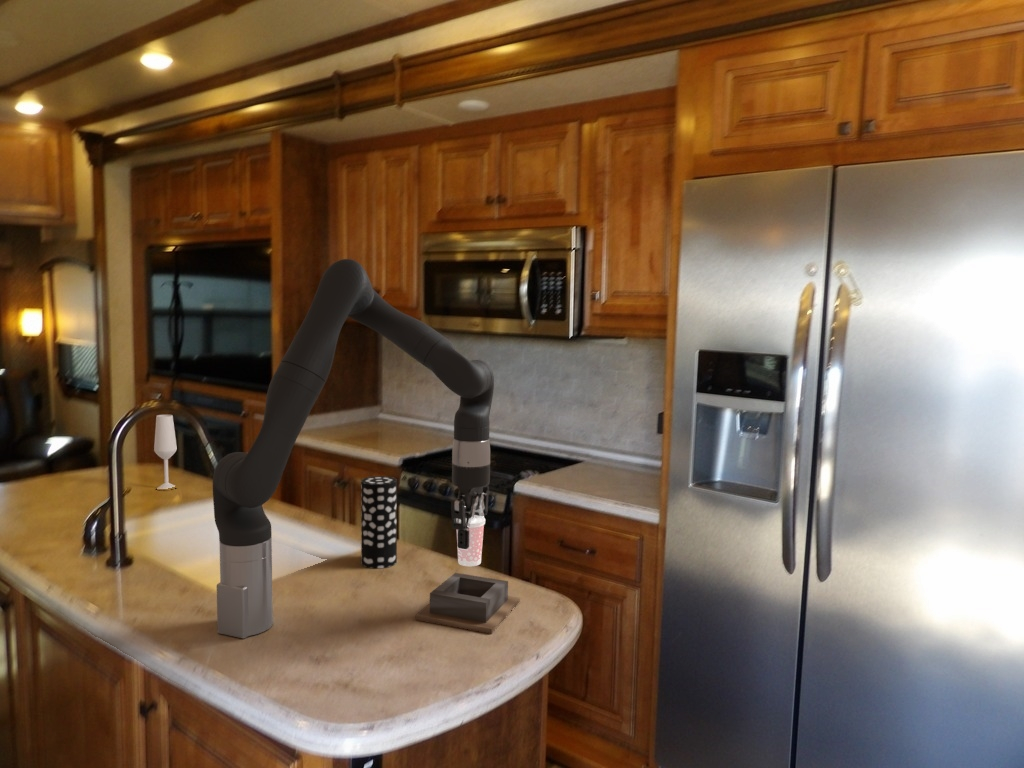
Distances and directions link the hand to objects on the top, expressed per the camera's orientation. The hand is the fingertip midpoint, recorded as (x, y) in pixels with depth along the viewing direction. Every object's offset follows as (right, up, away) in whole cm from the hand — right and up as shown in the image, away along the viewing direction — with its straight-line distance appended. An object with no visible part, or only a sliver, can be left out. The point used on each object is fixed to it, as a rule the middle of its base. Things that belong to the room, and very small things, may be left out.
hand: (470, 542), depth 146 cm
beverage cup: (0, -4, 0) cm, 4 cm away
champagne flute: (-104, -2, +91) cm, 139 cm away
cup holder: (0, -14, +1) cm, 14 cm away
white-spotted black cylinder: (-23, -11, +28) cm, 38 cm away
